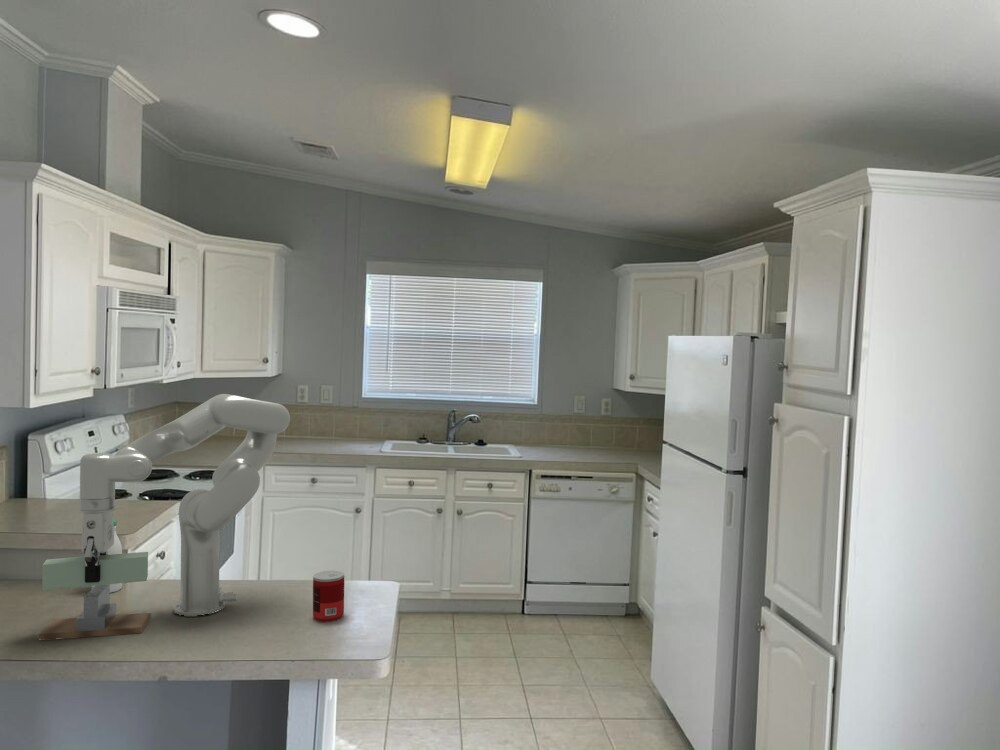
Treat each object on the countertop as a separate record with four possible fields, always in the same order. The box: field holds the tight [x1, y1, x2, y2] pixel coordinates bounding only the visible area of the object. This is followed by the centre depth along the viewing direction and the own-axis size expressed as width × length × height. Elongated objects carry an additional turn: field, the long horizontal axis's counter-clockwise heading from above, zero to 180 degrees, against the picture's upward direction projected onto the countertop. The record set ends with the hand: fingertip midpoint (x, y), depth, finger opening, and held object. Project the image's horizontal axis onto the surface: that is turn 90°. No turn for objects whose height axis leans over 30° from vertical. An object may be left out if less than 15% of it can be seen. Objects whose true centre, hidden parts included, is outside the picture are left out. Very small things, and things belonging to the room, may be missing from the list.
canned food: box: [312, 570, 345, 623], centre depth 186 cm, size 8×8×11 cm
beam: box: [41, 551, 149, 591], centre depth 175 cm, size 22×5×6 cm, turn 112°
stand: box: [38, 584, 152, 640], centre depth 175 cm, size 22×10×10 cm, turn 104°
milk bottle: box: [90, 518, 123, 594], centre depth 205 cm, size 8×8×20 cm
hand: (96, 577), depth 175 cm, fingers closed on beam, 5 cm apart
